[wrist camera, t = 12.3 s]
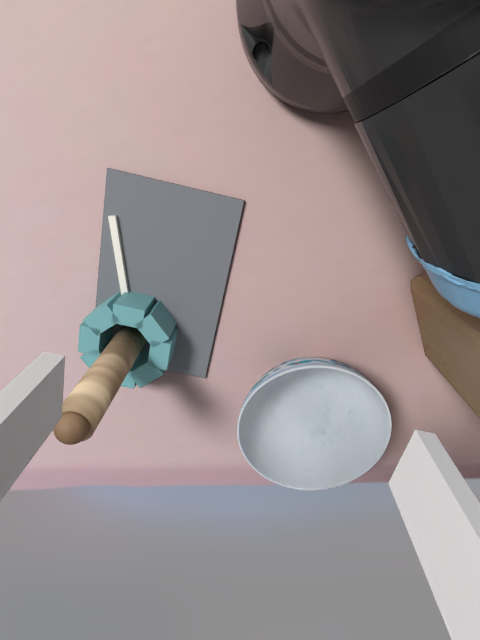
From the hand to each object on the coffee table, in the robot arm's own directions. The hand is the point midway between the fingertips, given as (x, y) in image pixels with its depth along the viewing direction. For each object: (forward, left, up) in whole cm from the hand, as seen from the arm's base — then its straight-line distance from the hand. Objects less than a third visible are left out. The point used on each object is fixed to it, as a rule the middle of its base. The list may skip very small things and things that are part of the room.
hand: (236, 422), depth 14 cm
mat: (+5, -8, -27) cm, 28 cm away
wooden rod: (+11, -10, -26) cm, 30 cm away
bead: (+11, -10, -26) cm, 30 cm away
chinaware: (+14, +10, -27) cm, 32 cm away
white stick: (+3, -13, -26) cm, 29 cm away
